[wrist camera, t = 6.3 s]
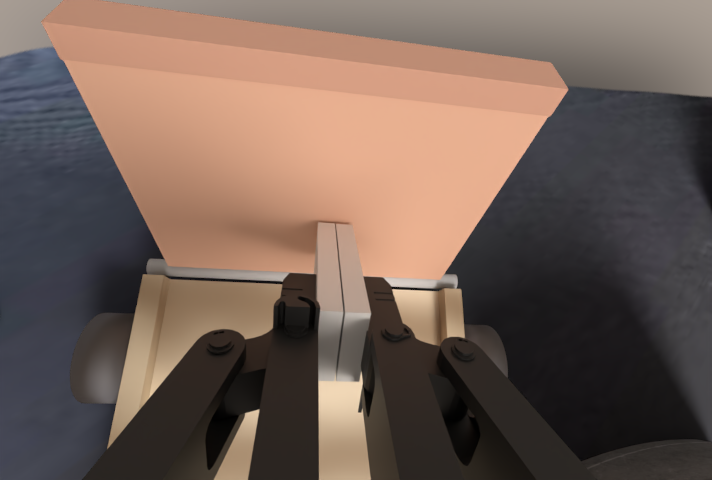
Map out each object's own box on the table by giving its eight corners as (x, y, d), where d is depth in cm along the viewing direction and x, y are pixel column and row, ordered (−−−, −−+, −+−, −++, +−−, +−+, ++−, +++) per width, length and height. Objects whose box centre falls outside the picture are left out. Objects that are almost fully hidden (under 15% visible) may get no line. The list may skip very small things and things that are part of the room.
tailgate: (453, 292, 22) (602, 96, 11) (150, 278, 20) (-10, 18, 9) (448, 267, 23) (580, 66, 13) (159, 251, 21) (25, -10, 10)
